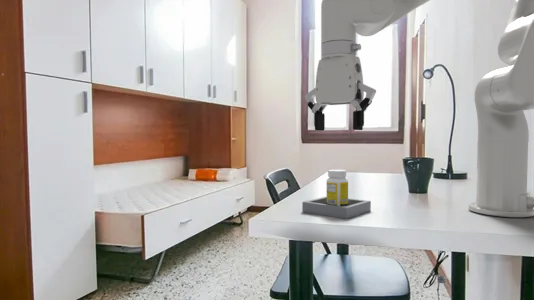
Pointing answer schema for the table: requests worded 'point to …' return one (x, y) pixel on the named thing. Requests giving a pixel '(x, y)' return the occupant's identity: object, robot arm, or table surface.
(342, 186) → the supplement bottle
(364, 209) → the tray
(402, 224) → the table surface
